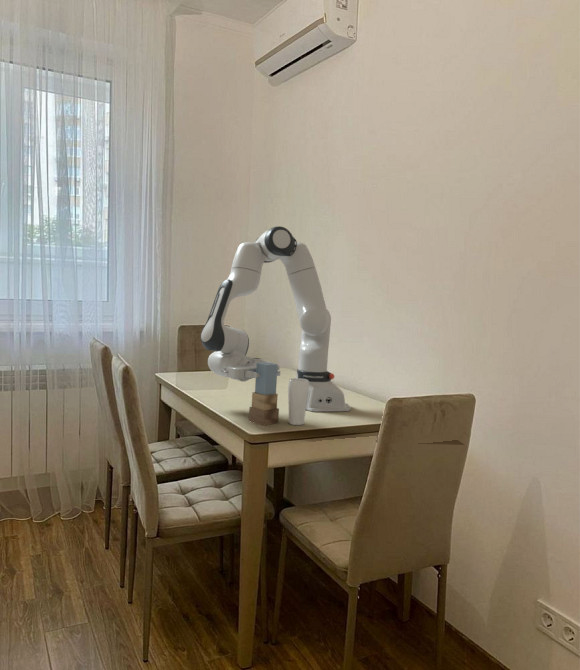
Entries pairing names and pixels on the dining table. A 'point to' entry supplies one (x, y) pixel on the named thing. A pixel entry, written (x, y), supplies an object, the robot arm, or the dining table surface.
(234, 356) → the robot arm
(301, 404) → the drinking glass
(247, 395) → the dining table surface
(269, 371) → the pillar
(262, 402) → the tower top
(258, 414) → the tower base
